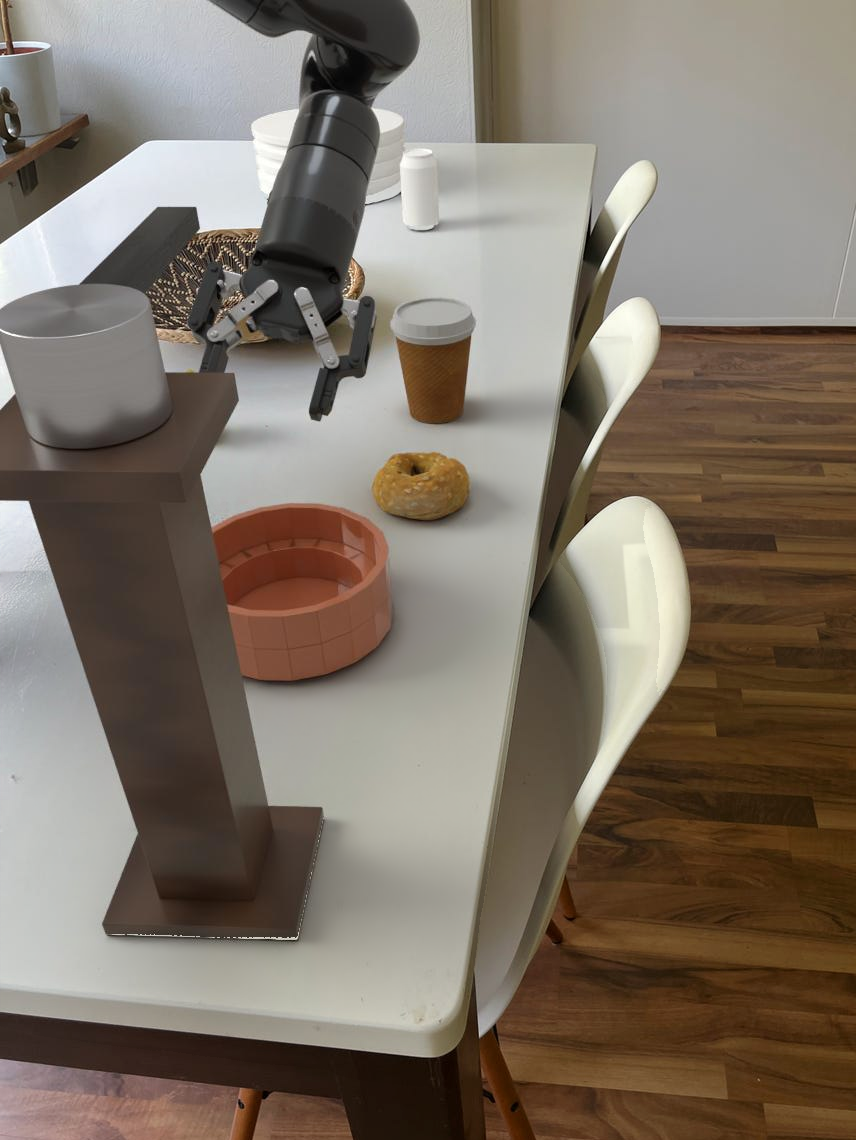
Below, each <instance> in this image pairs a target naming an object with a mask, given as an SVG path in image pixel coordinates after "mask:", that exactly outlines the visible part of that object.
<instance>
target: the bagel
mask: <svg viewBox="0 0 856 1140" xmlns="http://www.w3.org/2000/svg"><path fill="white" fill-rule="evenodd" d="M470 484H471V481H470V477H469V473H468V471H467V469H466V467H465V465H464V464H463V463H461V462H460V461H459V460H458V459H456V458H452V457H448V456H447V455H445V454H441V453H440V452H436V451H432V452H431V451H430V452H405V453H396V454H392V455H391V456H390V457H389V458H388V460H386V463H385V464H384V466H383V467H382V468H379V470H378V471H377V473H376V474H375V476H374V479H373V483H372V487H371V488H372V489H371V491H372V495H373V499H374V501H375V503H376V504H377V506H378V507H379V508H381V510H382V511H383V512H384V513H388V514H390V515H394V516H399V517H404V518H407V519H412V520H413V519H414V520H421V521H433V520H437V519H440V518H443V517H446V516H449V515H451V514H453V513H455V512H456V511H457V510H459V509H460V508H462V507H463V506H464V504H465V502H466V501H467V497H468V495H469V494H470V492H471V488H470Z"/></svg>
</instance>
